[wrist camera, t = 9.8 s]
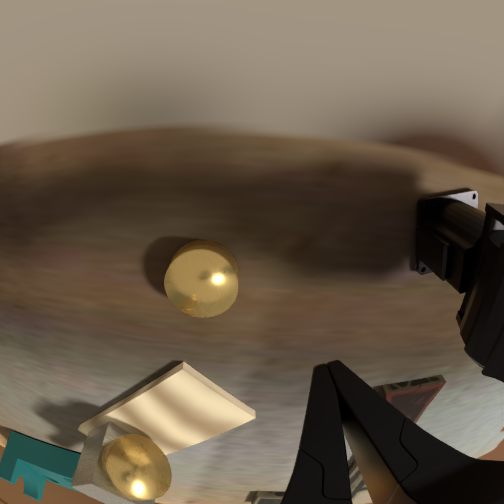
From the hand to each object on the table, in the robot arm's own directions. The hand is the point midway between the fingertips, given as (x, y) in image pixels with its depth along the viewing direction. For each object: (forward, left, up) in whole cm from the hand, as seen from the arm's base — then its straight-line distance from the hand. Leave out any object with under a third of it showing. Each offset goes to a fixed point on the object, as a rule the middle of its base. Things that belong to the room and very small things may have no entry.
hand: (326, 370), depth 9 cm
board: (+18, +20, -13) cm, 29 cm away
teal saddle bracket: (+44, +33, -13) cm, 56 cm away
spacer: (+6, +2, -13) cm, 15 cm away
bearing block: (+23, +23, -12) cm, 35 cm away
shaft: (+26, +24, -11) cm, 37 cm away
